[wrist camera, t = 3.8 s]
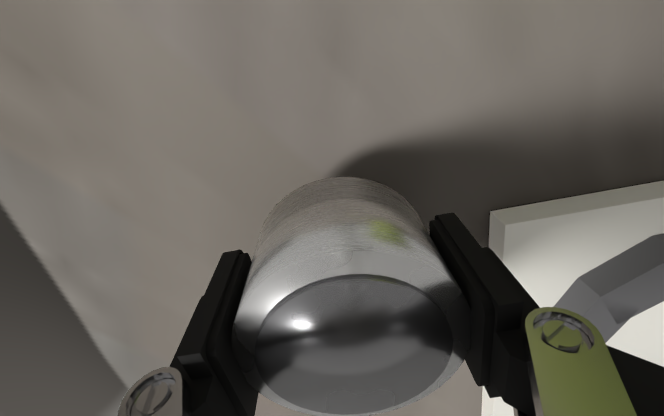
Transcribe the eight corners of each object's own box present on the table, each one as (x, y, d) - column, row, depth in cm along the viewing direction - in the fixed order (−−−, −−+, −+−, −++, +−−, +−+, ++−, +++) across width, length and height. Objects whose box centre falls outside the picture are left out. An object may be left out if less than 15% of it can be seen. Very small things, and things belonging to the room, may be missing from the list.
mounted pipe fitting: (490, 211, 13) (523, 241, 11) (868, 144, 13) (982, 162, 10) (481, 422, 20) (501, 467, 18) (730, 385, 19) (783, 427, 17)
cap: (235, 194, 10) (187, 285, 6) (421, 161, 10) (484, 235, 6) (281, 324, 13) (268, 439, 9) (427, 300, 13) (473, 409, 9)
